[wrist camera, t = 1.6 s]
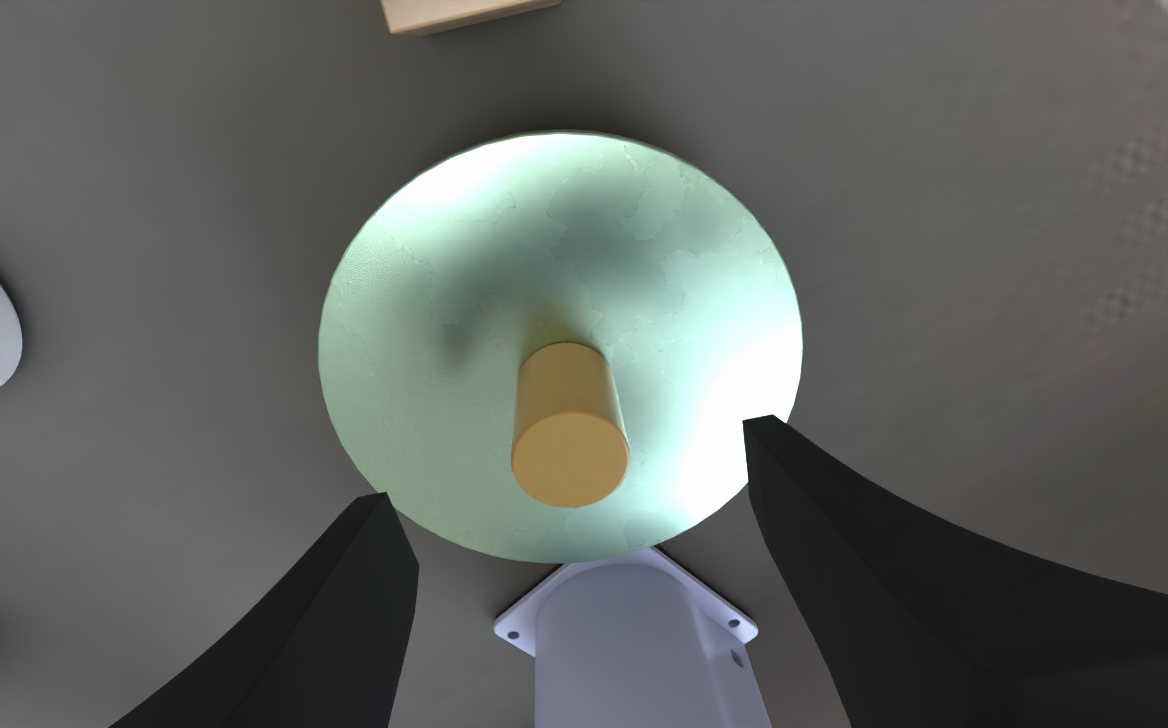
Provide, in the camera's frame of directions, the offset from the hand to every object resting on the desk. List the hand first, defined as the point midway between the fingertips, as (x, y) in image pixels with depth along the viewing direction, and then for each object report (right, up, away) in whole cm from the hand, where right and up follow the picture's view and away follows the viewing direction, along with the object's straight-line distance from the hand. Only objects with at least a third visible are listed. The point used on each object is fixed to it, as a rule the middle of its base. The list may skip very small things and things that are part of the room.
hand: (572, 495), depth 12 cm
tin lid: (0, +2, +4) cm, 5 cm away
